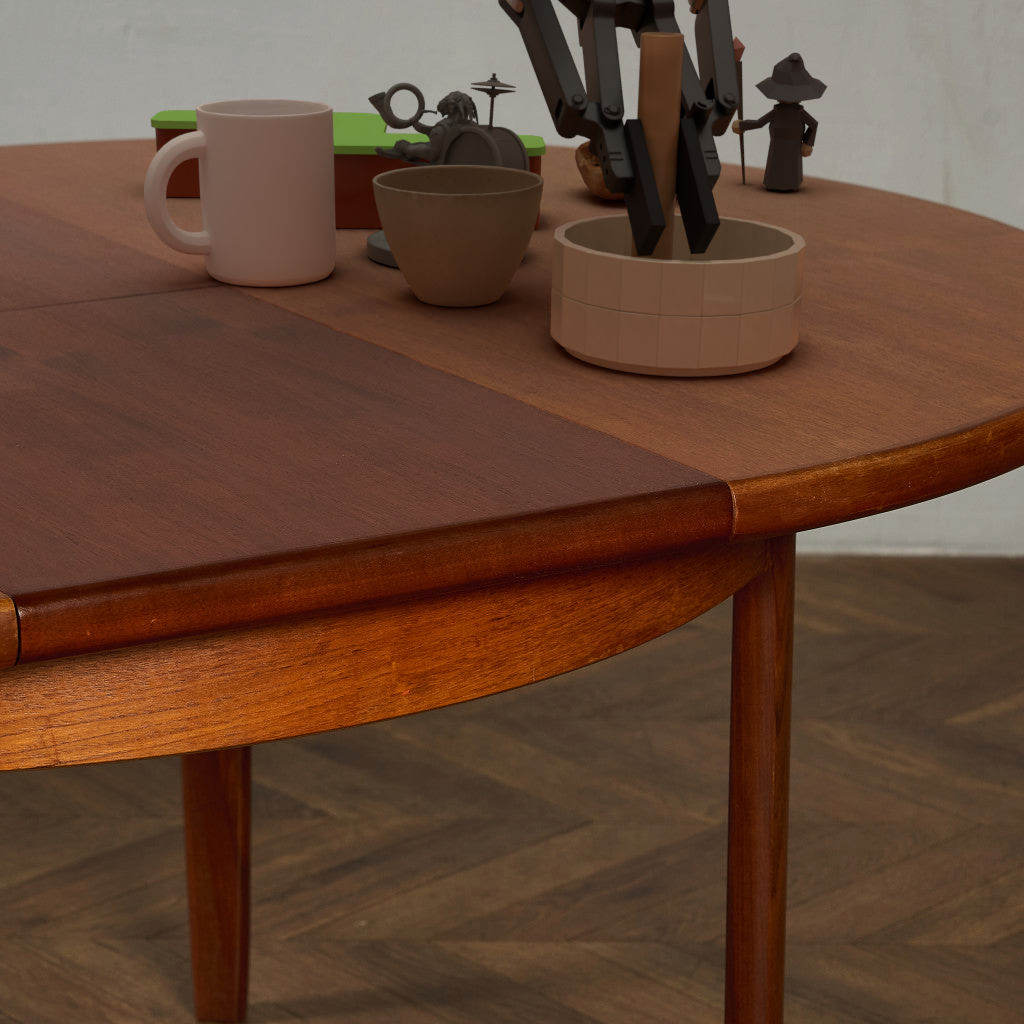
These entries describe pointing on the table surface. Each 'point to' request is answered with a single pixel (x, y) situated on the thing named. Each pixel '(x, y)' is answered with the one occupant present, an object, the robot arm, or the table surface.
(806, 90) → the wizard figurine
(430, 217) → the flower pot
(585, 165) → the brown rounded lump
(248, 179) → the mug
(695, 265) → the bowl
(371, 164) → the planter
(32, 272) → the table surface
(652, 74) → the masher
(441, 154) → the figurine
